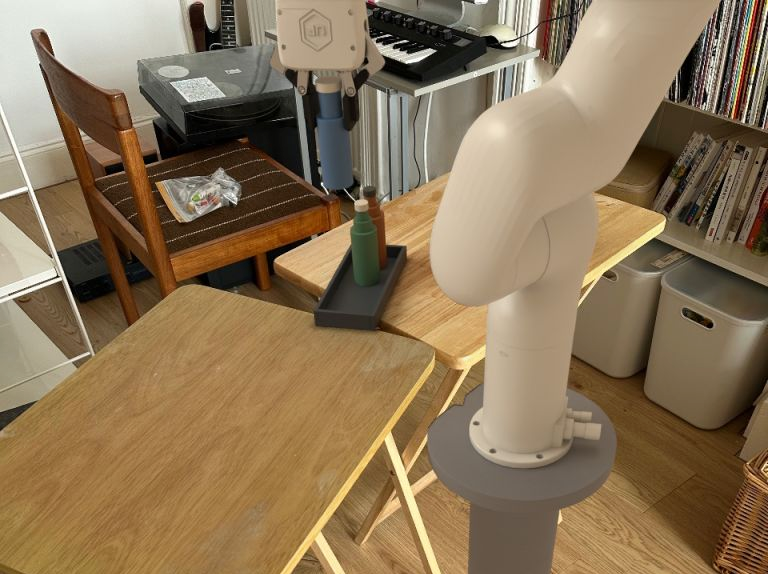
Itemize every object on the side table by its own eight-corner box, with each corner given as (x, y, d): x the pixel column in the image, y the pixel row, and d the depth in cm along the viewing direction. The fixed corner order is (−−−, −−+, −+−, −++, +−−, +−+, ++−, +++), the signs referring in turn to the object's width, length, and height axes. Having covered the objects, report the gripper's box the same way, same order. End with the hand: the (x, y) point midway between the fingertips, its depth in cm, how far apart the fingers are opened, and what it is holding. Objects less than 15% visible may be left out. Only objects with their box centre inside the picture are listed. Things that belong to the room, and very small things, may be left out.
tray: (407, 259, 129) (406, 245, 127) (375, 330, 115) (374, 315, 113) (353, 256, 131) (351, 242, 129) (315, 325, 117) (313, 310, 115)
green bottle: (382, 274, 125) (377, 197, 116) (376, 287, 123) (371, 209, 114) (358, 272, 126) (351, 195, 117) (351, 285, 123) (344, 207, 114)
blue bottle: (356, 177, 105) (348, 74, 96) (349, 190, 102) (339, 85, 93) (328, 176, 105) (317, 73, 97) (319, 189, 103) (307, 85, 94)
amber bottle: (389, 259, 128) (385, 183, 120) (383, 272, 126) (379, 194, 117) (365, 258, 129) (360, 182, 120) (359, 270, 127) (353, 193, 118)
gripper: (231, -42, 85) (259, 135, 98) (383, -44, 81) (391, 140, 94) (255, -57, 90) (279, 113, 103) (398, -59, 86) (404, 117, 100)
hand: (332, 124), depth 99 cm, fingers closed on blue bottle, 4 cm apart
